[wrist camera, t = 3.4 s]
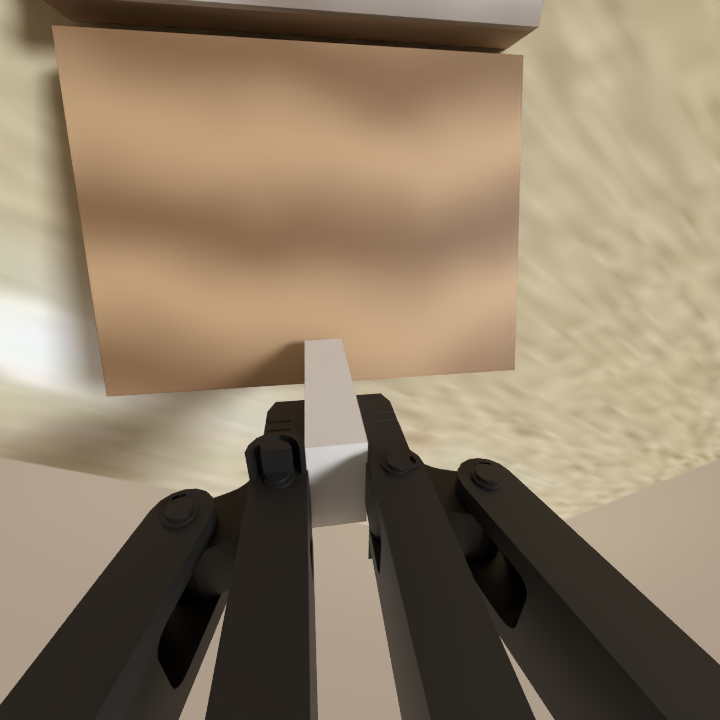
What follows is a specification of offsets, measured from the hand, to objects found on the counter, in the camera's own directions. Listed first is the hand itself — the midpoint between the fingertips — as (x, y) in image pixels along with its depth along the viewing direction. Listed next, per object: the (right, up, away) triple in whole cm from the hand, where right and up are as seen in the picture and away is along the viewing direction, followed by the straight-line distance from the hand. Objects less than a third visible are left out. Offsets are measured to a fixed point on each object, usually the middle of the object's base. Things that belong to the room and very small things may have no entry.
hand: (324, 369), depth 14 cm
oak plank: (-1, +6, +2) cm, 6 cm away
